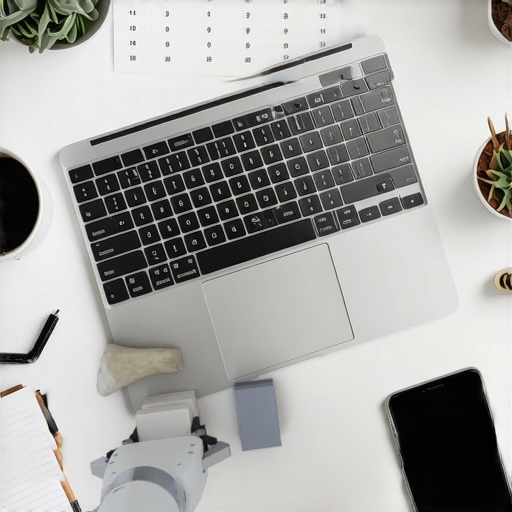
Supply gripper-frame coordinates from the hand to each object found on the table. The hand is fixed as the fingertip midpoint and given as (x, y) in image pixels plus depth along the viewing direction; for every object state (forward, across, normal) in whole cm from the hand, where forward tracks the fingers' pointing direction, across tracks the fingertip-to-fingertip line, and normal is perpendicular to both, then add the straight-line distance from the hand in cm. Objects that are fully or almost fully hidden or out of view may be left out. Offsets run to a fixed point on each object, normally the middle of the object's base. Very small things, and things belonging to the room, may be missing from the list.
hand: (170, 431), depth 70 cm
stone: (+4, -3, +8) cm, 10 cm away
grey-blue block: (+4, +11, 0) cm, 12 cm away
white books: (+4, 0, 0) cm, 4 cm away
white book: (-1, 0, 0) cm, 1 cm away
